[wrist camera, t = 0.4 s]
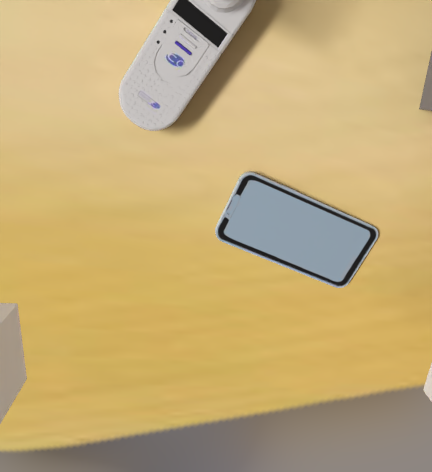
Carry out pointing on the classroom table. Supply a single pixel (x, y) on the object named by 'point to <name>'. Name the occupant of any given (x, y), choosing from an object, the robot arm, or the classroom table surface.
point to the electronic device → (178, 58)
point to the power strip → (427, 89)
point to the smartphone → (294, 230)
